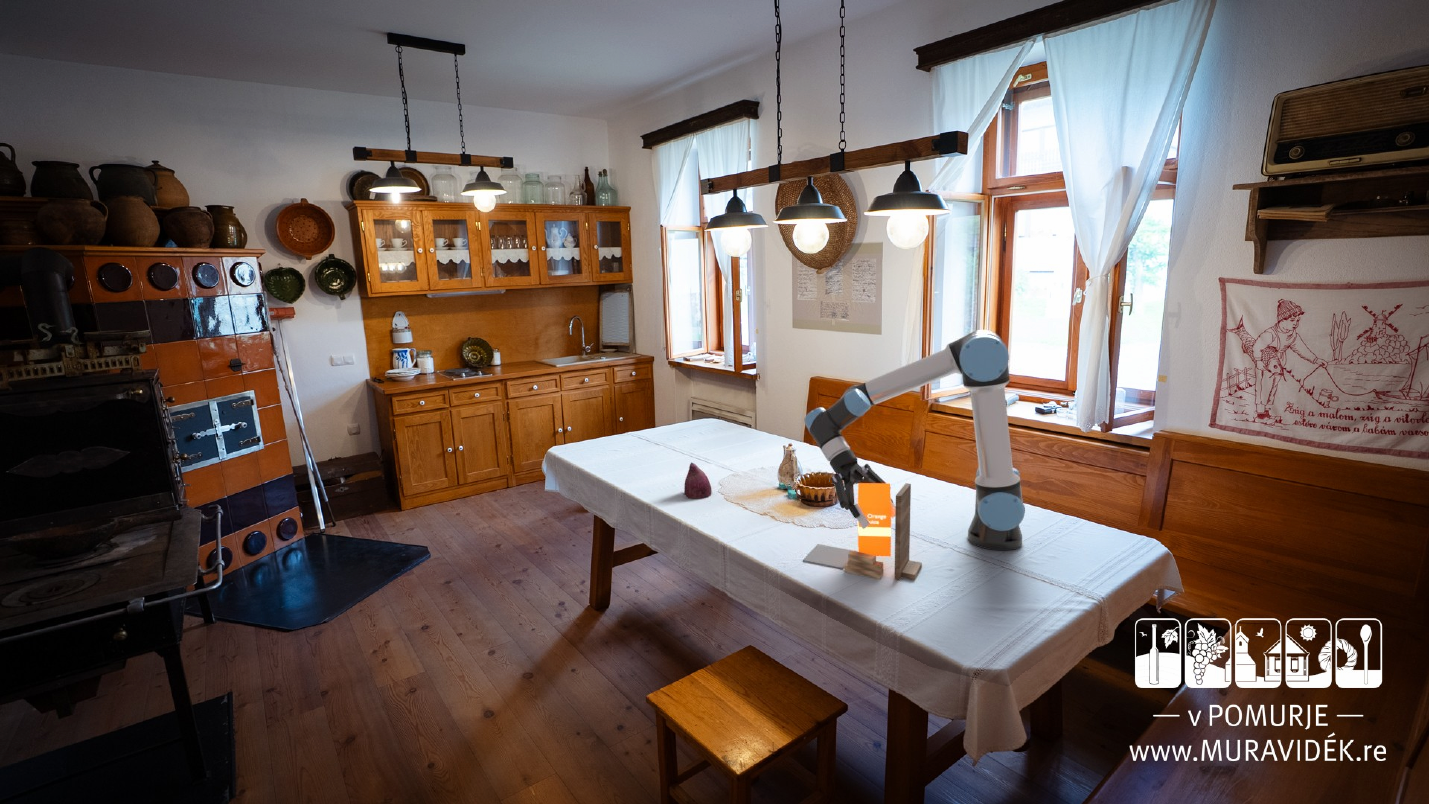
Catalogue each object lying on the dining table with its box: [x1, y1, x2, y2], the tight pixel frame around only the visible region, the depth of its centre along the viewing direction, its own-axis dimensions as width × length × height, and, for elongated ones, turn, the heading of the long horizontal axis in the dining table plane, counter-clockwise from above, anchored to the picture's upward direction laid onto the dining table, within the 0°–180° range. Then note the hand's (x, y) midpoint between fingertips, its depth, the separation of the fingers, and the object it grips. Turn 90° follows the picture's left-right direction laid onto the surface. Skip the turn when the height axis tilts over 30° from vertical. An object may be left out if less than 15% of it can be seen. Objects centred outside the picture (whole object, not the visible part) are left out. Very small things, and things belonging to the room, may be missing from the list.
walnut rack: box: [843, 482, 923, 581], centre depth 183 cm, size 18×12×24 cm, turn 60°
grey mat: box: [802, 543, 852, 570], centre depth 195 cm, size 12×12×1 cm
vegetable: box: [683, 462, 713, 500], centre depth 248 cm, size 10×10×15 cm
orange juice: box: [857, 482, 892, 558], centre depth 186 cm, size 8×9×20 cm
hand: (881, 520), depth 184 cm, fingers closed on orange juice, 11 cm apart
